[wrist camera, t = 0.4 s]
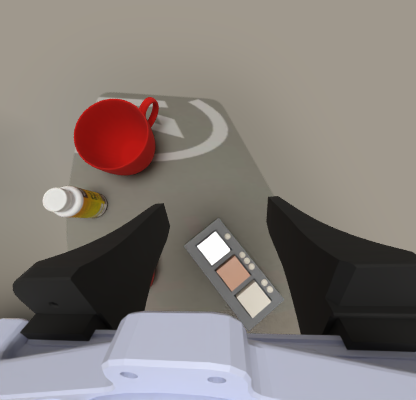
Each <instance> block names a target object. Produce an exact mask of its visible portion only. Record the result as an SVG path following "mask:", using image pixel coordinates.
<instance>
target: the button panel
mask: <svg viewBox="0 0 416 400" xmlns="http://www.w3.org/2000/svg"><path fill="white" fill-rule="evenodd" d="M215 231H216V233H217V234H218V235H219V236H220V238H221V239H222V240H223V241H224V243H225V244H226V245H227V246H228V248H229V249H230V251H229V252H228V253H227V254H225V255H224V256H223V257H222V258H221V259H219V260H218V261H217V262H216V263H215V264H213V265H211V264H210V262H209V261H208V260H207V259H206V257H205V256H204V255H203V253H202V252H201V251H200V249H199V248H198V247H197V246H198V245H199V244H200V243H201V242H202V241H203V240H205V239H206V238H207V237H208V236H210V235H211V234H212V233H213V232H215ZM184 247H185V249H186V250H187V251H188V253H189V254H190V255H191V257H192V258H193V259H194V260H195V262H196V263H197V264H198V266H199V267H200V268H201V270H202V271H203V272H204V274H205V275H206V276H207V278H208V279H209V280H210V282H211V283H212V284H213V285H214V287H215V288H216V289H217V291H218V292H219V293H220V295H221V296H222V297H223V299H224V300H225V301H226V303H227V304H228V305H229V306H230V308H231V309H232V310H233V312H234V313H235V314H236V316H237V317H238V318H239V320H240V321H241V322H242V324H243V325H244V326H245V328H246V329H247V330H248V331H250V330H251V329H252V328H253V327H254V326H255V325H256V324H257V323H259V322H260V321H261V320H262V319H263V318H264V317H265V316H267V315H268V314H269V313H270V312H271V311H272V310H273V309H275V308H276V307H277V306H278V305H279V304H280V303H281V302H282V301H284V299H283V297H282V296H281V295H280V294H279V292H278V291H277V290H276V289H275V287H274V286H273V285H272V284H271V282H270V281H269V280H268V279H267V277H266V276H265V275H264V274H263V272H262V271H261V270H260V269H259V267H258V266H257V265H256V264H255V262H254V261H253V260H252V259H251V257H250V256H249V255H248V254H247V252H246V251H245V250H244V249H243V248H242V246H241V245H240V244H239V243H238V241H237V240H236V239H235V238H234V236H233V235H232V234H231V233H230V231H229V230H228V229H227V228H226V226H225V225H224V224H223V223H222V221H221V220H220V219H219V218H217V219H216V220H215V221H214V222H212V223H211V224H210V225H209V226H207V227H206V228H205V229H204V230H202V231H201V232H200V233H199V234H197V235H196V236H195V237H194V238H193V239H191V240H190V241H189V242H188V243H186V244H185V245H184ZM232 255H235V256H236V258H237V259H238V260H239V262H240V263H241V264H242V265H243V267H244V268H245V269H246V270H247V272H248V273H249V274H250V276H249V277H248V278H247V279H246V280H245V281H244V282H242V283H241V284H240V285H239V286H238V287H237V288H235V289H234V290H233V291H231V290H230V288H229V287H228V286H227V284H226V283H225V282H224V281H223V279H222V278H221V277H220V275H219V274H218V273H217V271H216V269H217V268H218V267H219V266H220V265H222V264H223V263H224V262H225V261H226V260H228V259H229V258H230V257H231V256H232ZM253 279H254V280H255V282H256V283H257V284H258V286H259V287H260V288H261V289H262V291H263V292H264V293H265V294H266V296H267V297H268V298H269V299H270V301H271V303H270V304H268V305H267V306H266V307H265V308H264V309H263V310H262V311H260V312H259V313H258V314H257V315H256V316H255V317H254V318H252V317H251V316H250V314H249V313H248V312H247V310H246V309H245V308H244V307H243V305H242V304H241V303H240V301H239V300H238V299H237V297H236V293H237V292H239V291H240V290H241V289H242V288H243V287H244V286H246V285H247V284H248V283H249V282H250V281H251V280H253Z"/></svg>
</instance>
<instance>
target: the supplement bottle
mask: <svg viewBox="0 0 416 400" xmlns="http://www.w3.org/2000/svg"><path fill="white" fill-rule="evenodd" d="M43 205H44V207H45V208H46V209H47V210H49V211H52V212H54V213H56V214H57V215H58V216H62V217H78V218H96V217H99V216H101V215H102V214H103V213H104V212H105V210H106V207H107V202H106V199H105V197H104V196H103V195H101V194H99V193H96V192H92V191H88V190H84V189H80V188H76V187H72V186H64V187H61V188H52V189H50V190H48V191H47V192H46V193H45V195H44V196H43Z"/></svg>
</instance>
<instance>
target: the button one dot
mask: <svg viewBox="0 0 416 400" xmlns="http://www.w3.org/2000/svg"><path fill="white" fill-rule="evenodd" d="M197 247H198V248H199V249H200V251H201V252H202V253H203V255H204V256H205V257H206V259H207V260H208V261H209V262H210V264H211V265H213V264H215V263H216V262H217V261H218V260H219V259H221V258H222V257H223V256H224V255H225V254H227V253H228V252H229V251H230V249H229V248H228V246H227V245H226V244H225V243H224V241H223V240H222V239H221V238H220V236H219V235H218V234H217V233H216V231H215V232H213V233H212V234H211V235H210V236H208V237H207V238H206V239H205V240H203V241H202V242H201V243H200V244H199V245H198V246H197Z"/></svg>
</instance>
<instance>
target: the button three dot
mask: <svg viewBox="0 0 416 400" xmlns="http://www.w3.org/2000/svg"><path fill="white" fill-rule="evenodd" d="M216 271H217V273H218V274H219V275H220V277H221V278H222V279H223V281H224V282H225V283H226V284H227V286H228V287H229V288H230V290H231V291H233V290H234V289H235V288H237V287H238V286H239V285H240V284H241V283H242V282H244V281H245V280H246V279H247V278H248V277H249V276H250V274H249V273H248V272H247V270H246V269H245V268H244V267H243V265H242V264H241V263H240V262H239V260H238V259H237V258H236V256H235V255H232V256H231V257H230V258H229V259H228V260H226V261H225V262H224V263H223V264H222V265H220V266H219V267H218V268H217V269H216Z"/></svg>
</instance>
